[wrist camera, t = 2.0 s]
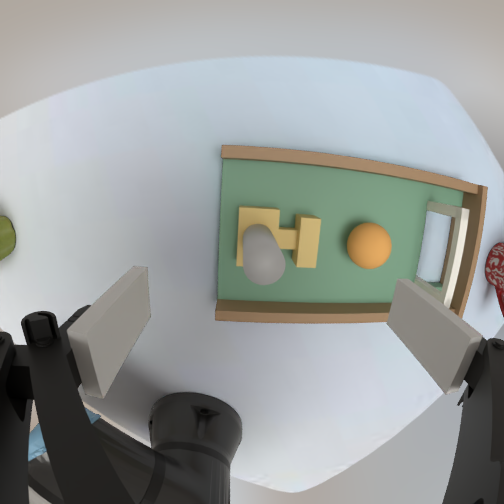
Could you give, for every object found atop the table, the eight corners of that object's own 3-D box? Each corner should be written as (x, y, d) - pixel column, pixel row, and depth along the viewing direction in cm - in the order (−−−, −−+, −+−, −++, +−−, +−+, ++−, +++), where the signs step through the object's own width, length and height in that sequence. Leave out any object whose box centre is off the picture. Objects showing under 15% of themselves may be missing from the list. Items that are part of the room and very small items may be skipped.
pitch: (218, 301, 36) (211, 339, 27) (224, 149, 31) (218, 139, 22) (439, 303, 37) (473, 329, 28) (460, 183, 33) (503, 189, 24)
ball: (348, 268, 33) (364, 283, 28) (334, 229, 32) (350, 239, 27) (384, 250, 33) (404, 262, 28) (372, 212, 31) (392, 219, 27)
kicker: (236, 260, 32) (234, 302, 21) (239, 205, 31) (238, 221, 20) (308, 264, 32) (338, 305, 22) (314, 210, 31) (350, 228, 20)
